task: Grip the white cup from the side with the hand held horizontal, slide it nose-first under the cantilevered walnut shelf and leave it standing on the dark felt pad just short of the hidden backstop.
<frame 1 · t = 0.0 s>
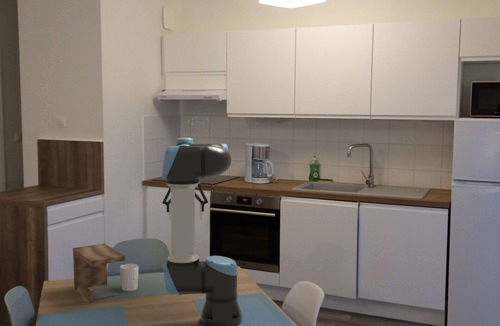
hand: (185, 219, 249), 28 cm above the table, tool pointing down, fingers open, 13 cm apart
white cup: (129, 289, 239), on the table
walnut shelf: (100, 294, 232), on the table
felt pad: (100, 294, 232), on the table
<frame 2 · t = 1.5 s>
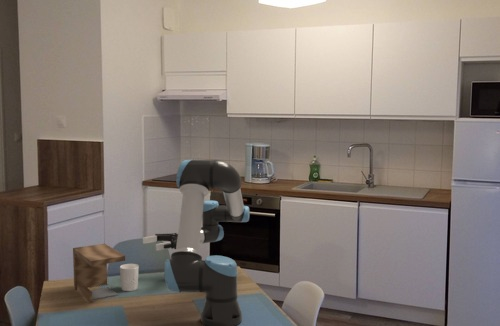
hand: (149, 244, 243), 18 cm above the table, tool horizontal, fingers open, 13 cm apart
nothing on the table moved.
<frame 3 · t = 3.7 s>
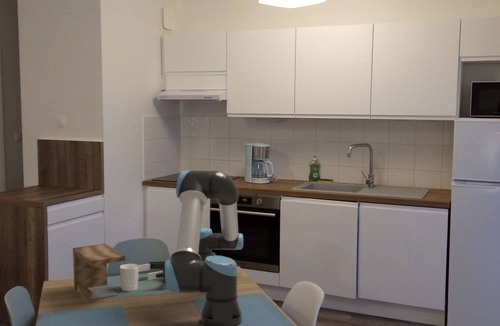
hand: (142, 272, 242), 6 cm above the table, tool horizontal, fingers open, 13 cm apart
nothing on the table moved.
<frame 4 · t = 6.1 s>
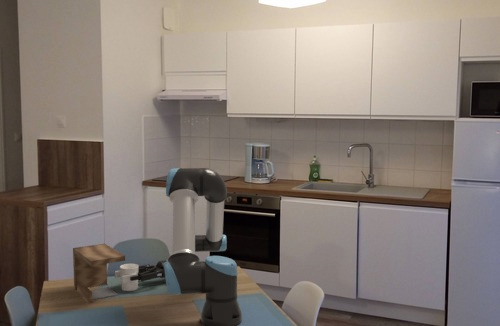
hand: (118, 277, 236), 6 cm above the table, tool horizontal, fingers closed on white cup, 8 cm apart
white cup: (129, 289, 239), on the table, touching gripper
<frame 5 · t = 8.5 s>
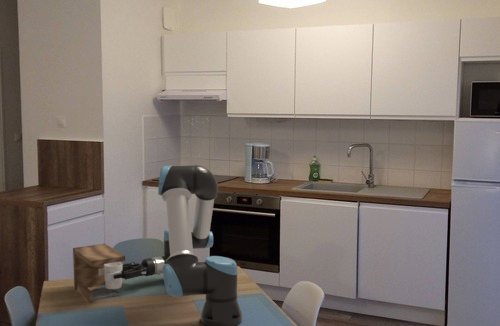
hand: (102, 275, 232), 8 cm above the table, tool horizontal, fingers closed on white cup, 8 cm apart
white cup: (113, 287, 236), point 2 cm above the table, touching gripper
when the fingers open (7 cm above the table, at t = 11.0 s): white cup stays where it is, resting on felt pad.
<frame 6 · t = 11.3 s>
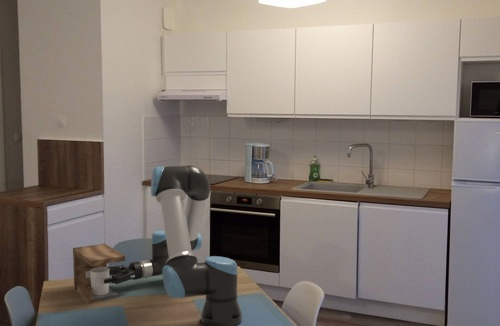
hand: (90, 278, 229), 7 cm above the table, tool horizontal, fingers open, 11 cm apart
white cup: (100, 293, 232), resting on felt pad
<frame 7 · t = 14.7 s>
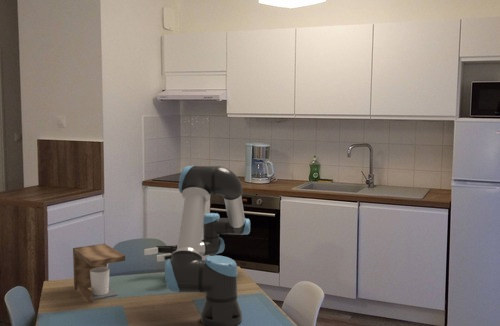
hand: (150, 255, 244), 13 cm above the table, tool horizontal, fingers open, 13 cm apart
nothing on the table moved.
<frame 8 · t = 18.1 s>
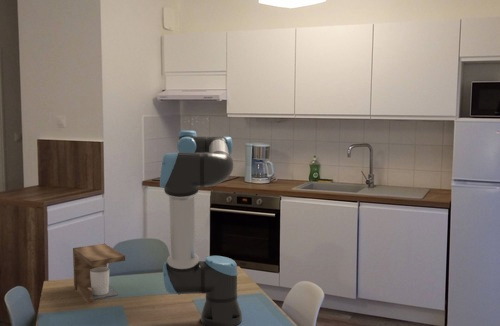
hand: (188, 216, 238), 32 cm above the table, tool pointing down, fingers open, 13 cm apart
nothing on the table moved.
at the end: white cup inside the target area on the felt pad (0.1 cm from its centre), point 0.4 cm above the felt pad's base; white cup tilted 0°; the gripper is holding nothing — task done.
